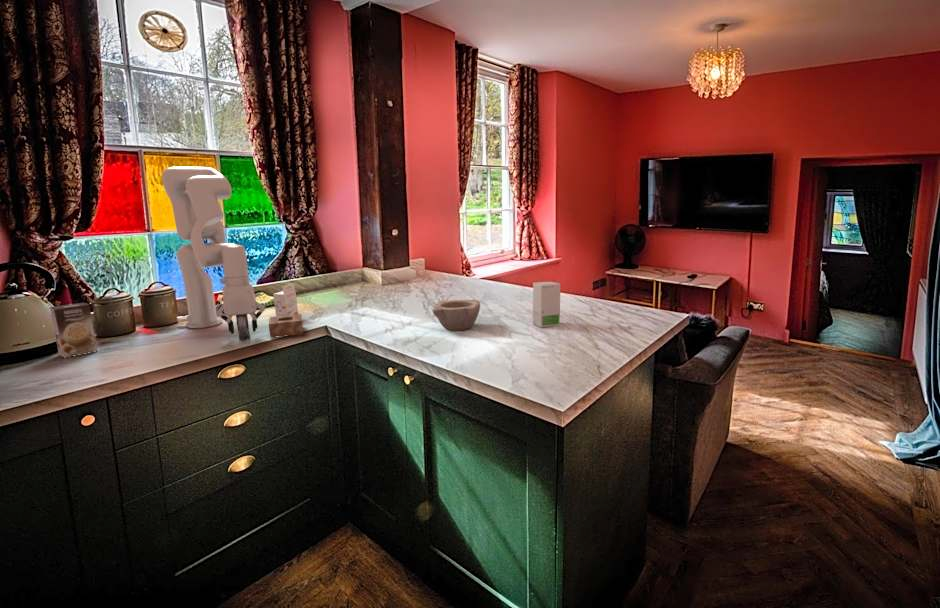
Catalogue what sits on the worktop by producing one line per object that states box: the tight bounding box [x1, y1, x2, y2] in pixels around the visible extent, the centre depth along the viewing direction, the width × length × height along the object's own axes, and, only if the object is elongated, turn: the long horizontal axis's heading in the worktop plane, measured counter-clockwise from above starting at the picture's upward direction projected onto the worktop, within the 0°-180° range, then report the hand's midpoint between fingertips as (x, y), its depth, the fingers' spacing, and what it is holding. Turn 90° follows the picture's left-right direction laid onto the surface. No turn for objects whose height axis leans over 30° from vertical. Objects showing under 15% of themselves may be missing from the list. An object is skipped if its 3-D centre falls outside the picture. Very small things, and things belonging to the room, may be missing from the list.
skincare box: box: [532, 281, 561, 329], centre depth 180 cm, size 8×7×16 cm
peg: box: [235, 314, 251, 341], centre depth 172 cm, size 4×4×10 cm
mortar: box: [432, 299, 481, 331], centre depth 180 cm, size 17×17×9 cm
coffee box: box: [49, 302, 99, 359], centre depth 159 cm, size 9×6×16 cm
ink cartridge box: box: [272, 282, 299, 317], centre depth 196 cm, size 9×5×15 cm, turn 168°
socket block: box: [268, 313, 304, 338], centre depth 180 cm, size 11×11×5 cm
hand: (243, 331), depth 173 cm, fingers open, 6 cm apart
